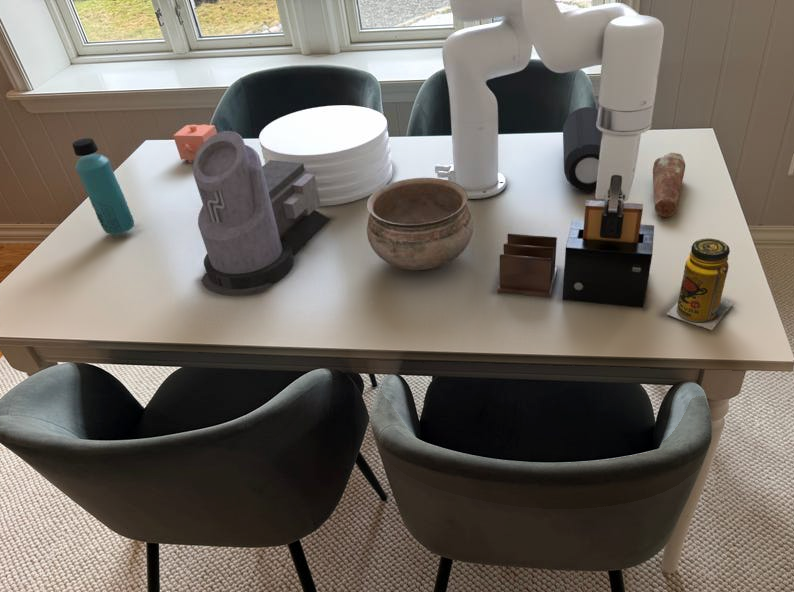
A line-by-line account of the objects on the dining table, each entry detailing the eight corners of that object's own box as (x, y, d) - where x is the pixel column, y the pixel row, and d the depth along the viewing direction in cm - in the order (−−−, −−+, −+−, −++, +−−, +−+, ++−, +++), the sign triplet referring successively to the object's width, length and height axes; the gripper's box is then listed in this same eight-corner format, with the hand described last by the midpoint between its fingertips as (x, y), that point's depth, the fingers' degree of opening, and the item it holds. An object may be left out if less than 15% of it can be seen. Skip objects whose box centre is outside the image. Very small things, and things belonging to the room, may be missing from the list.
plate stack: (416, 163, 156) (411, 114, 148) (342, 216, 138) (332, 164, 131) (323, 145, 168) (315, 99, 161) (245, 191, 151) (231, 142, 143)
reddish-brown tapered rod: (683, 177, 141) (687, 152, 137) (677, 221, 127) (682, 194, 124) (652, 175, 142) (656, 150, 139) (643, 218, 129) (647, 191, 125)
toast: (580, 266, 110) (585, 205, 103) (581, 260, 111) (586, 200, 104) (633, 271, 108) (642, 209, 100) (634, 265, 109) (643, 203, 102)
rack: (497, 292, 114) (496, 256, 109) (506, 266, 120) (506, 231, 115) (550, 297, 111) (552, 261, 107) (557, 270, 117) (559, 235, 113)
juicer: (260, 302, 116) (221, 169, 101) (185, 288, 122) (138, 160, 106) (339, 220, 137) (317, 99, 121) (273, 211, 142) (244, 94, 127)
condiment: (665, 315, 105) (678, 249, 98) (688, 290, 110) (702, 225, 102) (711, 331, 102) (728, 264, 94) (733, 304, 106) (750, 238, 99)
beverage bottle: (144, 228, 141) (108, 135, 128) (121, 243, 136) (81, 149, 123) (121, 223, 143) (83, 132, 130) (98, 238, 139) (56, 145, 126)
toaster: (561, 303, 110) (564, 250, 103) (568, 270, 117) (572, 219, 111) (643, 311, 107) (652, 257, 100) (645, 277, 114) (654, 225, 107)
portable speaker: (612, 196, 137) (617, 149, 130) (562, 196, 138) (565, 150, 132) (604, 145, 156) (608, 102, 149) (561, 146, 157) (563, 103, 151)
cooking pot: (453, 305, 112) (450, 241, 104) (349, 292, 117) (338, 230, 109) (488, 231, 129) (487, 172, 122) (397, 223, 135) (390, 165, 127)
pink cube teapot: (175, 168, 164) (164, 135, 158) (198, 148, 172) (188, 117, 167) (204, 169, 162) (194, 136, 157) (226, 149, 171) (217, 117, 165)
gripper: (602, 94, 100) (592, 205, 112) (591, 137, 88) (581, 256, 100) (654, 95, 98) (638, 208, 110) (650, 139, 86) (632, 261, 98)
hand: (611, 230), depth 105 cm, fingers open, 3 cm apart
